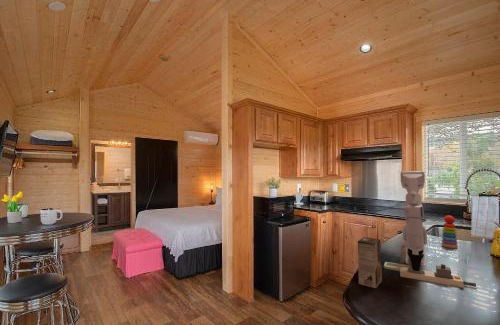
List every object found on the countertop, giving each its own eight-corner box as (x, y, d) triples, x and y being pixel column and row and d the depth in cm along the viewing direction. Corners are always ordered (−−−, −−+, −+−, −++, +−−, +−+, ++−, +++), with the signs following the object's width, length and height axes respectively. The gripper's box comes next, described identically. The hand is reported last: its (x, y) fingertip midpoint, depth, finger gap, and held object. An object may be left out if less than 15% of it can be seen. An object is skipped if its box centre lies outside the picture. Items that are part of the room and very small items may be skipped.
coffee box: (365, 277, 104) (364, 236, 106) (382, 281, 100) (381, 239, 102) (357, 284, 97) (357, 240, 99) (376, 288, 93) (375, 243, 95)
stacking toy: (446, 248, 153) (444, 216, 154) (438, 244, 161) (437, 214, 162) (461, 248, 151) (459, 216, 153) (452, 245, 159) (451, 214, 161)
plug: (409, 270, 108) (408, 255, 108) (421, 272, 106) (421, 257, 106) (408, 273, 104) (408, 257, 105) (422, 275, 102) (421, 259, 102)
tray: (385, 264, 121) (385, 261, 121) (410, 268, 115) (410, 265, 115) (383, 269, 114) (383, 266, 114) (410, 273, 109) (410, 270, 109)
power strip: (400, 272, 110) (400, 265, 111) (474, 284, 98) (473, 276, 98) (400, 277, 105) (400, 269, 105) (478, 291, 92) (477, 282, 92)
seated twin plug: (436, 278, 103) (435, 262, 103) (450, 280, 101) (449, 264, 101) (437, 281, 99) (436, 265, 100) (451, 284, 97) (450, 267, 97)
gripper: (403, 230, 114) (404, 262, 113) (402, 236, 102) (404, 272, 101) (422, 232, 110) (424, 265, 109) (424, 239, 98) (425, 275, 97)
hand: (415, 268), depth 105 cm, fingers closed on plug, 4 cm apart
